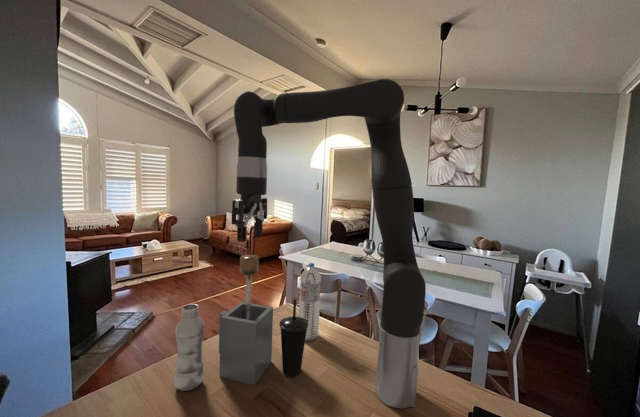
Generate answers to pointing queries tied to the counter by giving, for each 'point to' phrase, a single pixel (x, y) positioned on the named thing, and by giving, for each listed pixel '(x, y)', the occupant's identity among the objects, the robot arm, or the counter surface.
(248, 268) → the plunger
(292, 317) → the drinking cup
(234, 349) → the box
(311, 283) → the water bottle
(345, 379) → the counter surface
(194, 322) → the plastic bottle
